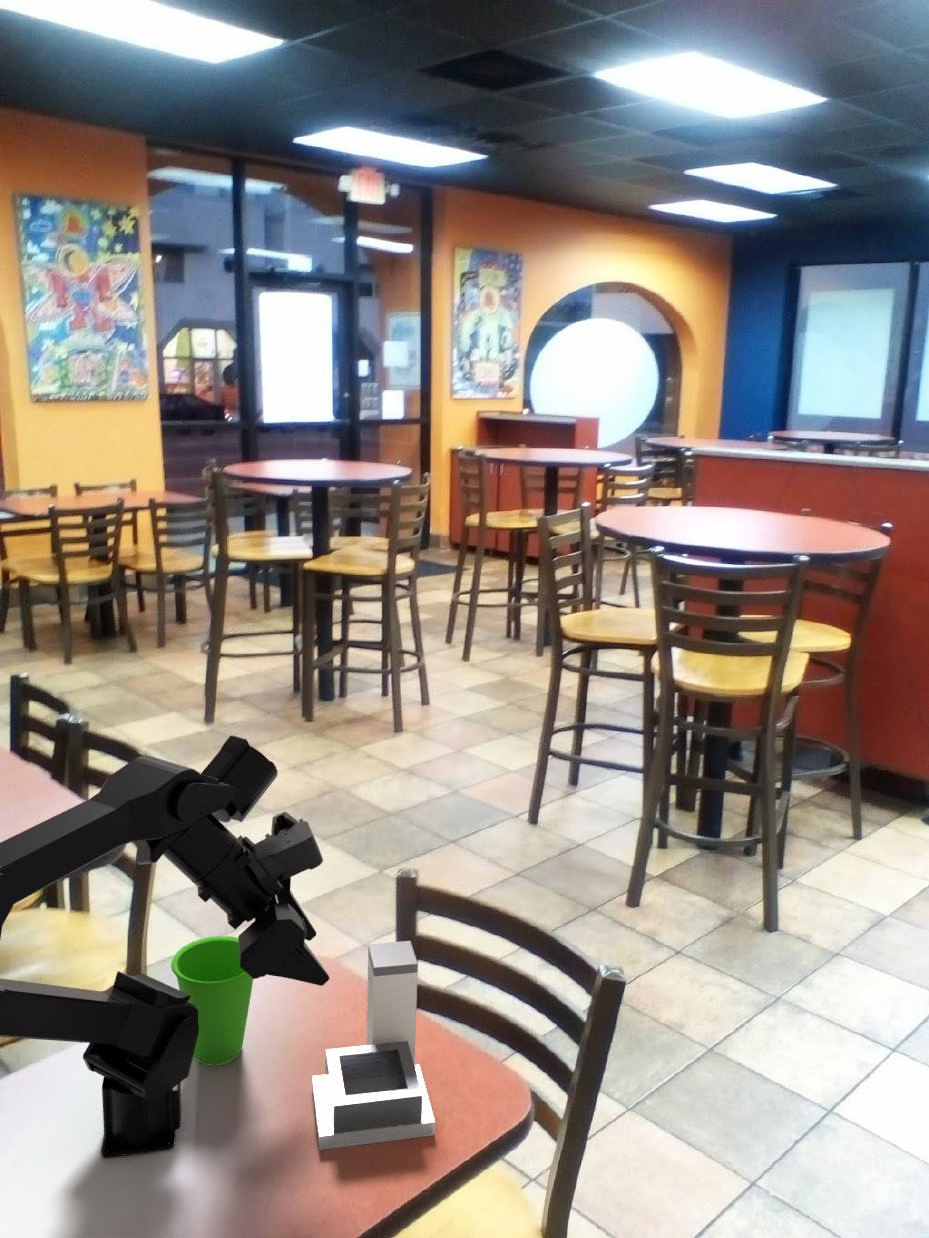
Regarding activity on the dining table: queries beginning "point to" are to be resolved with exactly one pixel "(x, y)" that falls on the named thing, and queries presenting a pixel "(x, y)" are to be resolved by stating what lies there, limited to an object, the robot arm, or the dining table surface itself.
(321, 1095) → the socket
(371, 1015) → the plug
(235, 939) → the cup
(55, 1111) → the dining table surface
